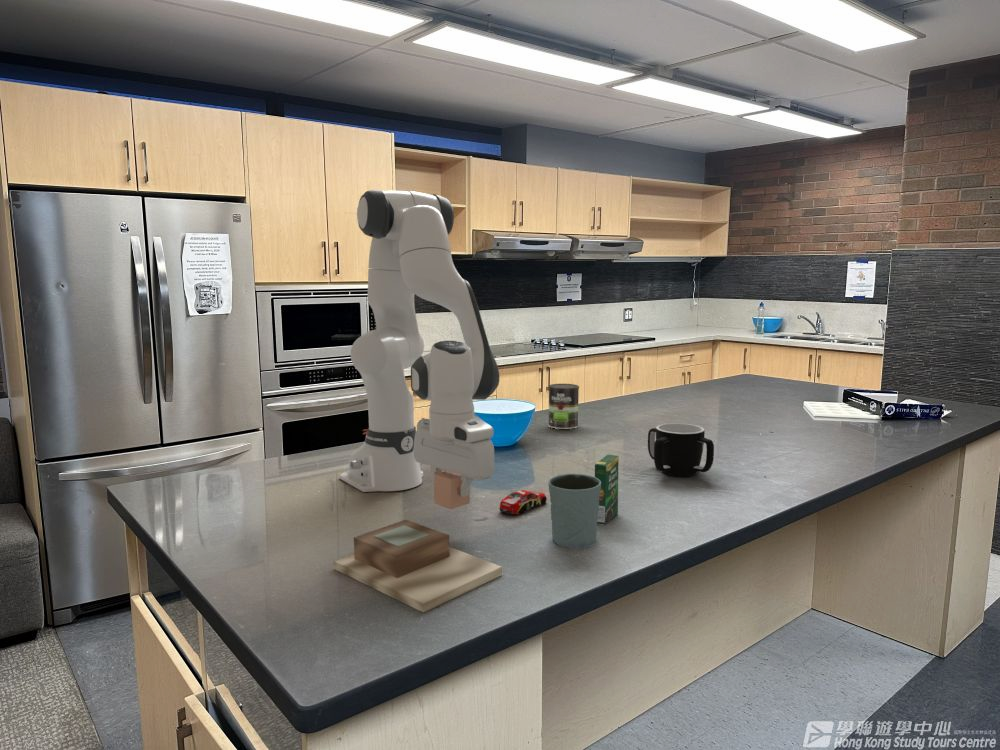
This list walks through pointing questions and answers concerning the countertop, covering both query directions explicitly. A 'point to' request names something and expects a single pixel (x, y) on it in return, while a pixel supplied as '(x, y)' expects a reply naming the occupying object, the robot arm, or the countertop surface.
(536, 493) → the race car
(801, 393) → the countertop surface
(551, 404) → the coffee can
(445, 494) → the terracotta block
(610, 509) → the coffee box
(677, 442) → the mug
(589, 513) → the grey green cup
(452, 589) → the build board
